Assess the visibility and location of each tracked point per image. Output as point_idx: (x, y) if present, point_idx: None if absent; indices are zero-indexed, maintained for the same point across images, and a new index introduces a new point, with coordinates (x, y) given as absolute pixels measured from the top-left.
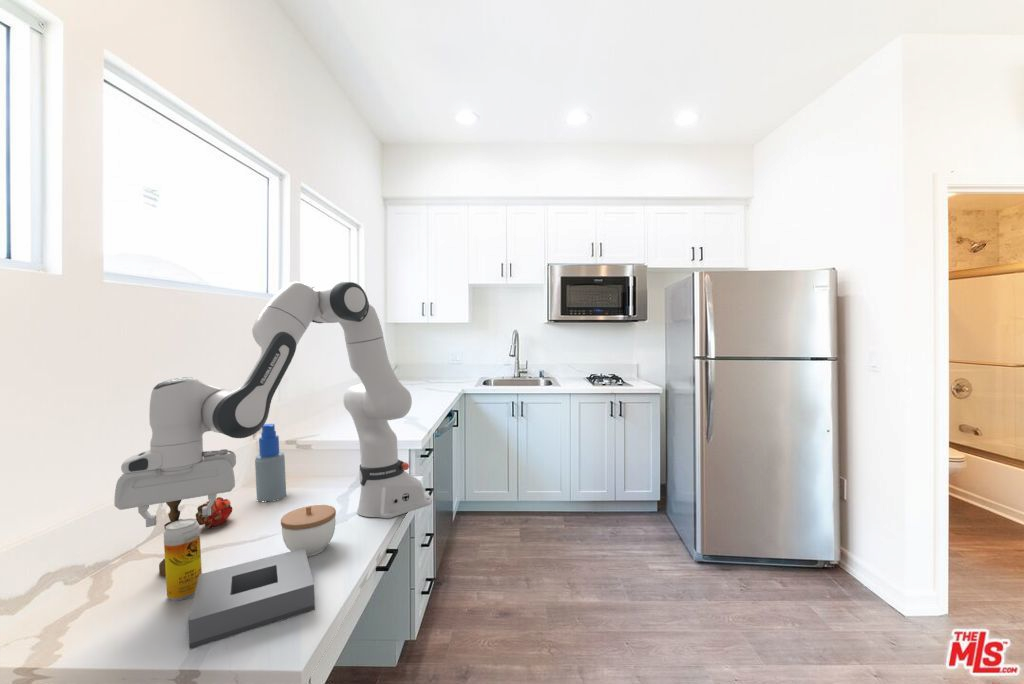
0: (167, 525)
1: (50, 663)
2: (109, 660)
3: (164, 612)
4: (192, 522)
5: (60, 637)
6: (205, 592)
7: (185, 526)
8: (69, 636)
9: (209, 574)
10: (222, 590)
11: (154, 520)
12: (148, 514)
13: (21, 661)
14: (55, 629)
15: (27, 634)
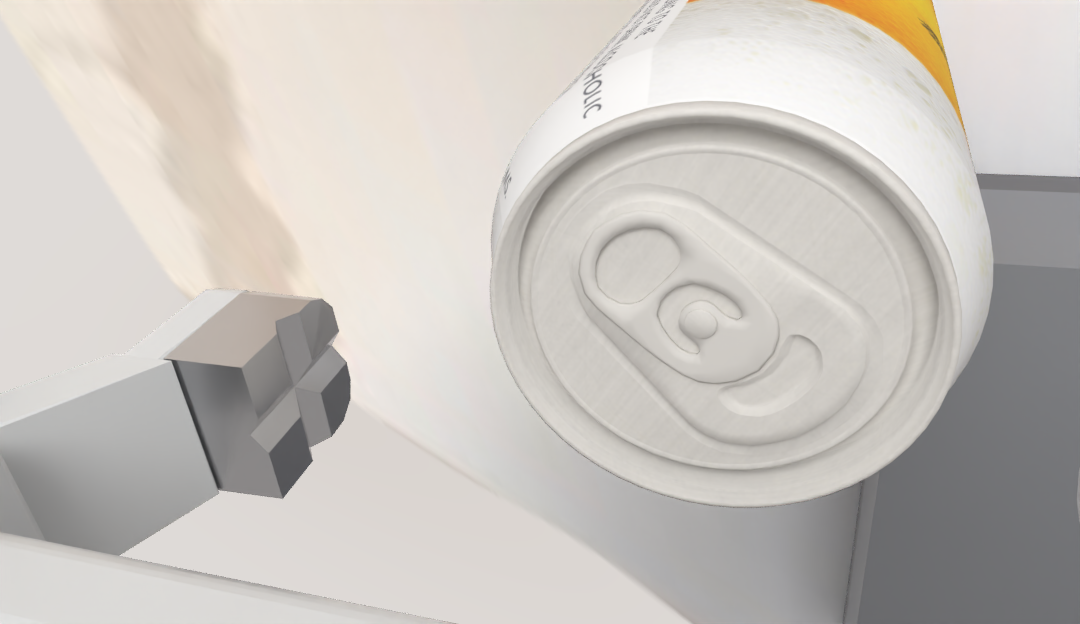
0: (497, 264)
1: None
2: (540, 488)
3: None
4: (882, 338)
5: (240, 157)
6: (939, 560)
7: (776, 437)
8: (278, 174)
9: (995, 320)
10: (1049, 612)
11: (305, 465)
12: (137, 463)
13: (197, 274)
14: (165, 45)
15: (57, 16)
